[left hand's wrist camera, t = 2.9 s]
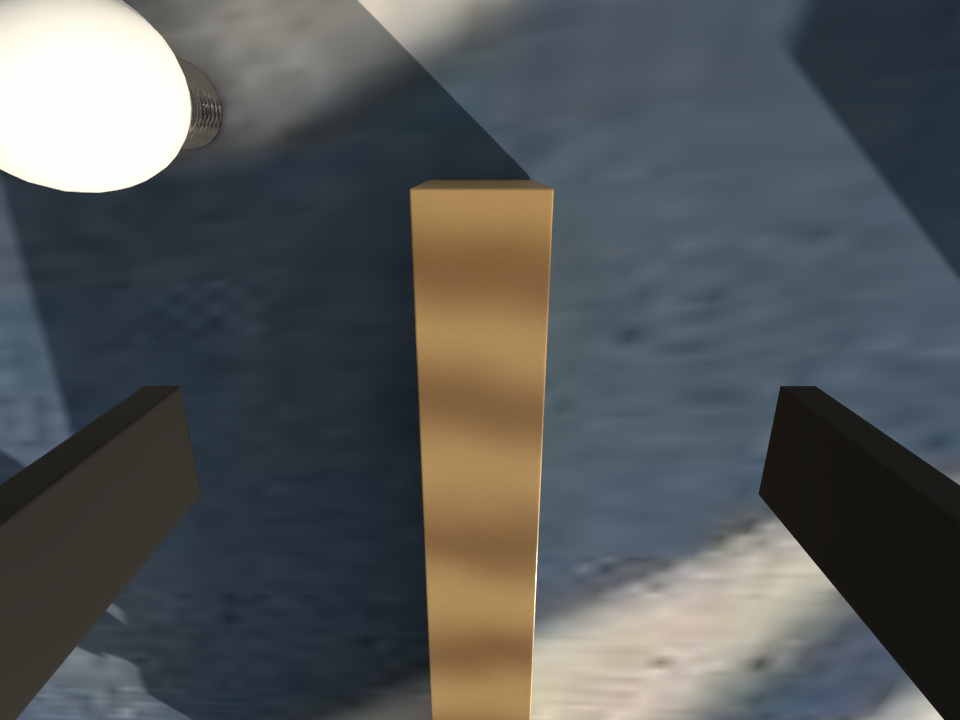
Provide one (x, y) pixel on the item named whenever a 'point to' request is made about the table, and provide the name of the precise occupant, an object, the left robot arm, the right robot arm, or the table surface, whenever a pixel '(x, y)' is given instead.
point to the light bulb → (95, 96)
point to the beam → (481, 433)
